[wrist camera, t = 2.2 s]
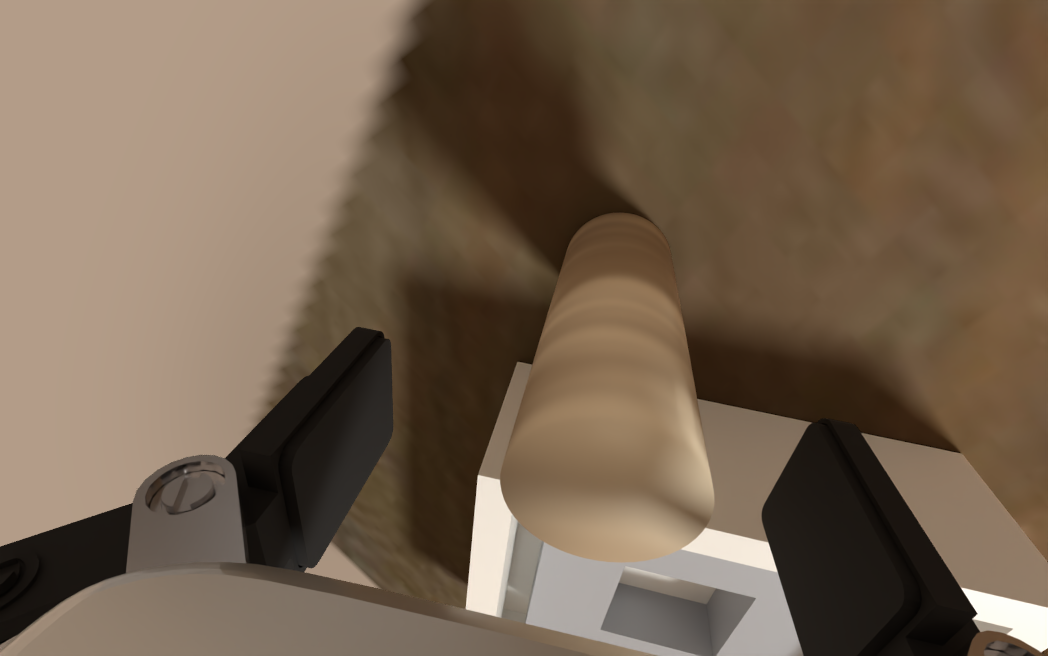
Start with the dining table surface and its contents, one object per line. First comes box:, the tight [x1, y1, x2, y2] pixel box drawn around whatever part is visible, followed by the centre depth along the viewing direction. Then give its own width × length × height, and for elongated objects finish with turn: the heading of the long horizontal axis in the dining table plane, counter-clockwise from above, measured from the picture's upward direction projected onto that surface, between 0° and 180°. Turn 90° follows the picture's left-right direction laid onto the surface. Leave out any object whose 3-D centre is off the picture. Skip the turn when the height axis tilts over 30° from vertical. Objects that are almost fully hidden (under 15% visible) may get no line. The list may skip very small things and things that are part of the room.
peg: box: [500, 212, 714, 563], centre depth 12 cm, size 4×4×10 cm
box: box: [466, 362, 1048, 656], centre depth 21 cm, size 18×17×6 cm
